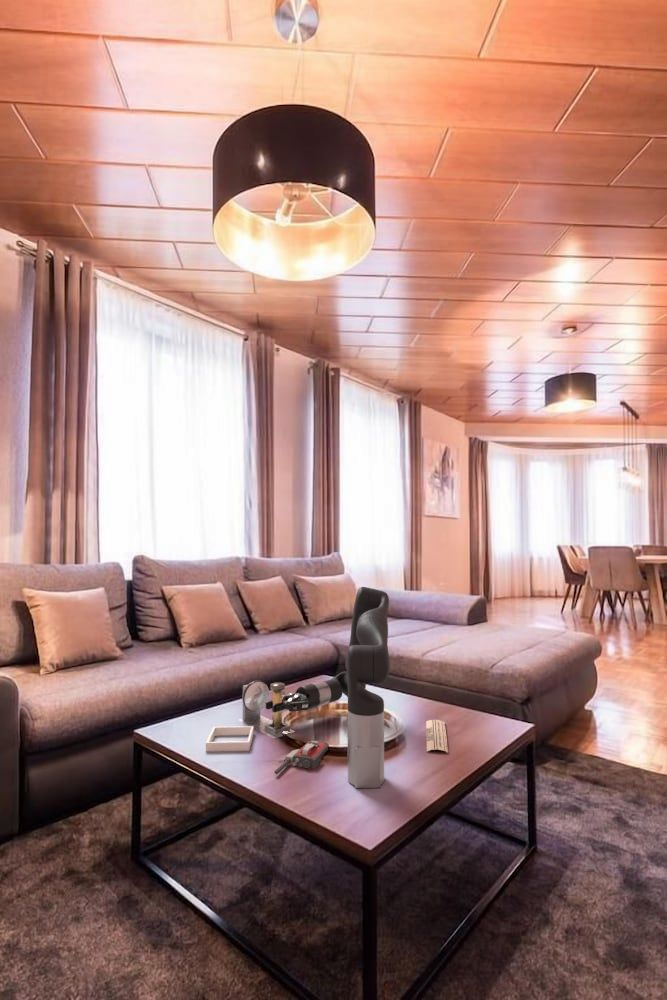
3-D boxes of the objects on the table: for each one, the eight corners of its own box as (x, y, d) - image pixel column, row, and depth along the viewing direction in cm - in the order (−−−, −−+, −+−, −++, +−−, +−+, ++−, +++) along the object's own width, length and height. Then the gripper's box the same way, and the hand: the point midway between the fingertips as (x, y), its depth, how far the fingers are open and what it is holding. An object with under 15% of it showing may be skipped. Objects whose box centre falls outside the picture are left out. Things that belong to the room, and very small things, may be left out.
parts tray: (249, 754, 149) (249, 742, 149) (205, 755, 148) (205, 742, 148) (253, 738, 161) (253, 726, 161) (213, 738, 160) (213, 726, 160)
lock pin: (284, 733, 161) (284, 686, 162) (269, 734, 161) (269, 686, 162) (284, 728, 165) (285, 682, 166) (270, 728, 165) (270, 682, 166)
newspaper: (448, 756, 150) (448, 750, 150) (422, 754, 151) (422, 748, 151) (444, 725, 173) (444, 720, 173) (422, 724, 174) (422, 719, 174)
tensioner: (297, 734, 163) (297, 689, 164) (271, 743, 157) (272, 695, 158) (261, 717, 178) (261, 675, 179) (236, 724, 172) (236, 680, 173)
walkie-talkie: (303, 747, 155) (271, 777, 136) (303, 732, 155) (271, 760, 136) (331, 752, 152) (303, 783, 133) (331, 736, 152) (303, 765, 133)
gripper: (300, 679, 178) (256, 689, 167) (327, 688, 168) (283, 700, 157) (300, 702, 178) (256, 713, 167) (327, 712, 168) (283, 726, 156)
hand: (269, 707), depth 162 cm, fingers closed on lock pin, 3 cm apart
